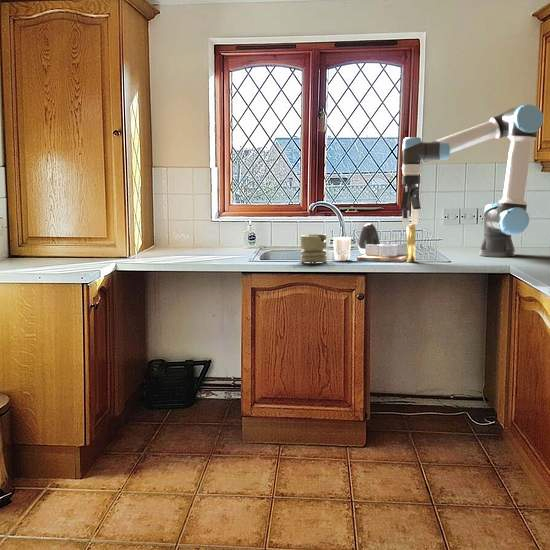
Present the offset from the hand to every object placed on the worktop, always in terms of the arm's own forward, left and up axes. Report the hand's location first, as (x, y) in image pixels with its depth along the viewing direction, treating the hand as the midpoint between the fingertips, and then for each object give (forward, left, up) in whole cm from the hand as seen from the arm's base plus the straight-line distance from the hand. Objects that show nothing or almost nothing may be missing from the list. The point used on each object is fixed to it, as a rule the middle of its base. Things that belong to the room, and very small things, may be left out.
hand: (410, 225), depth 273 cm
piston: (+40, +13, -16) cm, 45 cm away
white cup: (+31, +2, -16) cm, 35 cm away
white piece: (+13, -7, -14) cm, 20 cm away
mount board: (+14, -6, -16) cm, 22 cm away
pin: (0, 0, -16) cm, 16 cm away
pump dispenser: (+26, -19, -16) cm, 36 cm away
